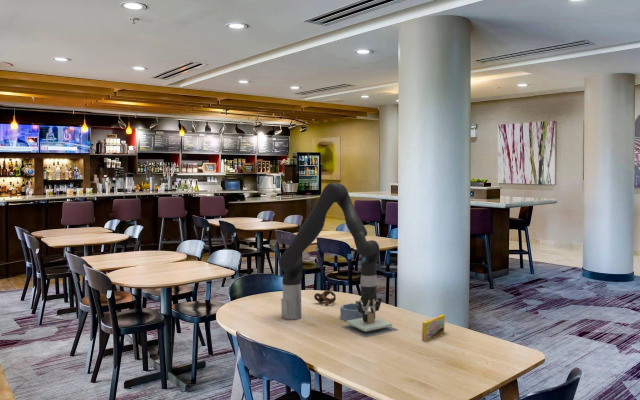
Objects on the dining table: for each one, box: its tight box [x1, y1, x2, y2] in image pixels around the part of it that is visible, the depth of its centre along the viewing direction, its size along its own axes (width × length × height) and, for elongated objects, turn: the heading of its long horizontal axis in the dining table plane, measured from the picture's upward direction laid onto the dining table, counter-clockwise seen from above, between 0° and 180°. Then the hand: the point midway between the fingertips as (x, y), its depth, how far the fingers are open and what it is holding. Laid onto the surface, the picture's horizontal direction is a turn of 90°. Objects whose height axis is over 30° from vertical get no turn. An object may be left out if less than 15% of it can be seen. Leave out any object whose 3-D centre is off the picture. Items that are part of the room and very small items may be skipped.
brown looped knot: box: [313, 290, 337, 307], centre depth 290 cm, size 12×10×8 cm
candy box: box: [421, 313, 446, 342], centre depth 231 cm, size 16×2×8 cm, turn 137°
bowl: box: [339, 302, 369, 322], centre depth 260 cm, size 13×13×6 cm
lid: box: [345, 310, 393, 331], centre depth 243 cm, size 15×15×6 cm
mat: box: [341, 324, 399, 339], centre depth 243 cm, size 19×19×1 cm
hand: (368, 320), depth 243 cm, fingers closed on lid, 3 cm apart
